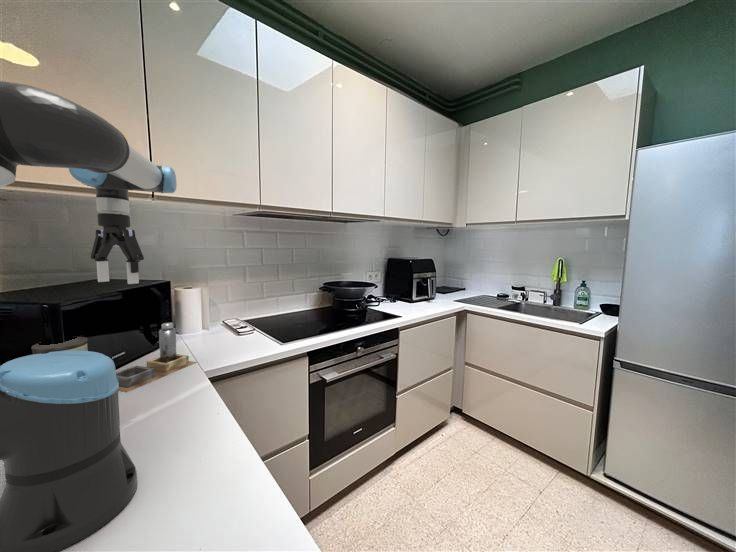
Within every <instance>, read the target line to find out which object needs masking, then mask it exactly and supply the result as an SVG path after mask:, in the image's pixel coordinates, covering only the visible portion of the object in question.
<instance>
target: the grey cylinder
mask: <svg viewBox="0 0 736 552" xmlns="http://www.w3.org/2000/svg"><path fill="white" fill-rule="evenodd" d="M158 339H159V343H158V344H159V357H160V362H162V363H168V362H171V361H173V360H176V359H177V356H176V354H177V329H176V328H175V327H174V322H163V323H162V324H161V328H160V329H159V330H158Z"/></svg>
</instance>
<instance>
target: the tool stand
mask: <svg viewBox="0 0 736 552" xmlns="http://www.w3.org/2000/svg"><path fill="white" fill-rule="evenodd" d="M176 356H177V359H176V360H173V361H171V362H168V363H162V362H160V356H159V357H156V358H153V359H149V360H148V361H145V362H146V366H141V365H134V366H131V367H128V368H125V369H122V370H120V371H116V377H117V379H118V382H119V388H118V392H122V393H123V392H124V393H128V392H130V391H134V390H135V389H138V388H140V387H143V386H145V385H147V384H150V383H152V382H154V381H155V382H156V380H159V379H161V378H163V377H167V376H168V375H170V374H171V375H172V374H173V373H175V372H178V371H181V370H182V369H185V368H188V367H189V366H192V365H195V364H197V363H198V361H193V360H192V361H191V360H190V358H189V355H187V354H186V355H184V354H178V353H176Z"/></svg>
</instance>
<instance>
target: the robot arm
mask: <svg viewBox="0 0 736 552" xmlns="http://www.w3.org/2000/svg"><path fill="white" fill-rule="evenodd" d="M17 166H26V167H27V166H29V167H44V168H60V169H68V171H69V174H70V175H71V176H72V177H73V179H75V180H76V181H78V182H79V183H81V184H82V185H85V186H87V187H90V188H93V189H95V202H96V212H98V214H97V225H98V226H100V227H103V229H96V230H95V237H94V242H93V245H92V249H91V254H90V259H91V260H94V261H95V262H96V272H97V276H96V277H97V282H98V283H105V282H110V271H109V259H108V256H109V255H110V253H111V252H112V249H113V247H114V246H118V247H119V249H120V250H121V252H122V253H123V254H124V257H125V258H126V261H125V262H126V277H127V278H126V280H127V285H135V284H139V283H140V279H139V278H140V275H139V262H140V261H143V260H144V259H145V257H144V254H143V252H142V250H141V248H140V245H139V243H138V240H137V237H136V232H135V229H129V228H130V227H131V217H130V216H129V214H130V204H129V203H130V199H129V195H130V194H129V191H136V192H146V193H147V192H150V193H160V194H173V193H174V194H175V192H176V191H177V185H178V184H177V183H178V182H177V175H176V172H175V170H174V168H172V167H170V166H163V165H158V164H157V165H156V164H155V163H153V162H152V161H151V160H150V159H148V157H145V156H144V155H143V154H142V153H141V152H139V151H138V150H136V149H135V147H133V146H132V145H130V144H129V141H128V139H127V138H126V137H125V135H124V134H123V133H122V132H121V130H119V129H118V128H117V127H116V126H115V125H113V124H112V123H110V122H109V121H108V120H106V119H105V118H103V117H101V116H100V115H98V114H96V113H95V112H93V111H92V110H89V109H87V108H86V107H83V106H82V105H81V104H78V103H76V102H74V101H72V100H69V99H67V98H65V97H63V96H61V95H59V94H56V93H55V92H54V93H53V92H51V91H48V90H46V89H42V88H39V87H36V86H32V85H30V84H29V85H28V84H24V83H17V82H9V81H3V80H0V189H1V188H3V187H5V186H8V185H9V186H10V185H11V184H14V183H15V182H16V175H17ZM127 228H128V229H127ZM115 364H116V363H115V362H114V360H113V359H112V358H111V357H109V356H107V355H105V354H103V353H100V352H96V351H89V350H88V351H55V352H49V353H46V354H33V353H32V354H29V355H25V356H21V357H17V358H14V359H12V360H8V361H5V363H2V364H0V461H3V465H4V476H5V486H4V489H3V491H2V495H1V497H0V552H58V551H61V550H63V549H65V548H67V547H70V546H72V545H74V544H75V543H77V542H80V541H81V540H83V539H84V538H87V537H88V536H89V535H91V534H94V533H95V532H96V531H98V530H99V529H101V528H102V527H103V526H104V525H106V524H108V523H109V522H110V521H111V520H113V519H114V518H115V517H116V516H117V515H118V514H119V513H121V511H123V509H124V508H125V507H127V505H128V503H130V501H131V500H132V498H133V497H134V496H135V493H136V490H137V488H138V473H137V472H138V471H137V467H136V466H135V464H134V462H133V460H132V458H131V457H130V455H129V453H128V451H126V448H125V447H124V445H123V444H122V440H121V427H120V426H121V425H120V424H121V423H120V404H119V403H120V402H119V391H118V388H119V382H118V379H117V377H116V372H117V371H116V365H115Z"/></svg>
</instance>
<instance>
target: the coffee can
mask: <svg viewBox="0 0 736 552" xmlns="http://www.w3.org/2000/svg"><path fill="white" fill-rule="evenodd" d="M76 337H77V338H75V339H72V340H69V341H66V342H63V343H58V344H50V345H39V344H38V343H35V344H33V345H32V346H31V347H30V348H31V352H32V355H33V354H46V353H49V352H55V351H89V350H88V341H89V339H88V337H86V336H76Z"/></svg>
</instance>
